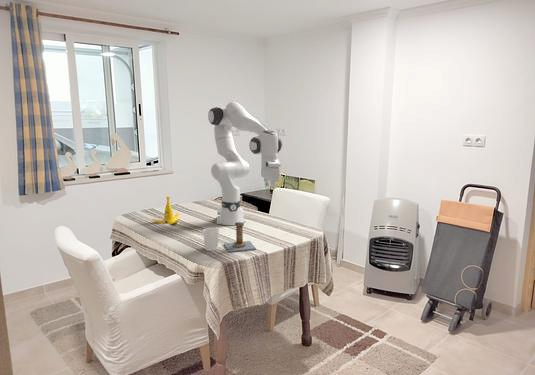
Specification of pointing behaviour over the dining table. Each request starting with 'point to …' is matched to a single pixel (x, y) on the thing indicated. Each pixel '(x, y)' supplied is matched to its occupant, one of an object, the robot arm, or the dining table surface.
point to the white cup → (211, 238)
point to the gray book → (231, 248)
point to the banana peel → (168, 214)
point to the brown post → (239, 235)
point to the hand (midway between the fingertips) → (269, 187)
